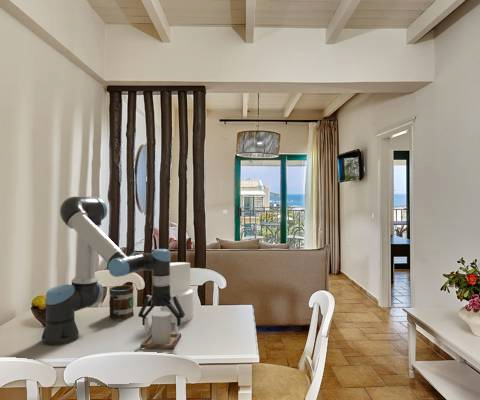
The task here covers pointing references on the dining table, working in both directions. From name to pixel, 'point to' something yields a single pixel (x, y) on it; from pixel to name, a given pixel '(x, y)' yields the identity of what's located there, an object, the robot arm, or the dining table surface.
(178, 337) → the tray
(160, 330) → the grey upright rounded piece
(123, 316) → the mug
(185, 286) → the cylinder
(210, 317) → the dining table surface
